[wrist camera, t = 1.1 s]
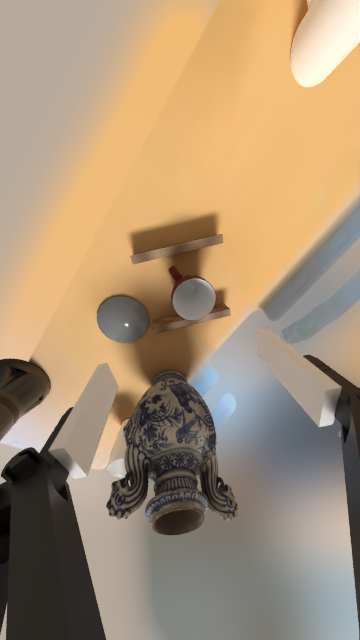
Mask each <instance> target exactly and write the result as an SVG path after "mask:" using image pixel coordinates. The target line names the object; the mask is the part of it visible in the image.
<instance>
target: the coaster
mask: <svg viewBox="0 0 360 640" xmlns="http://www.w3.org/2000/svg"><path fill="white" fill-rule="evenodd" d="M97 322H98V326H99V328H100V330H101V331H102V332H103V333H104V334H105V335H106V336H107V337H108V338H110V339H112V340H114V341H117V342H123V343H127V342H133V341H135V340H137V339H139V338H141V337H142V336H143V335H144V333H145V332H146V330H147V328H148V323H149V319H148V314H147V312H146V310H145V308H144V307H143V306H142V305H141V304H140V303H139V302H138V301H136V300H134V299H132V298H130V297H125V296H117V297H113V298H110V299H108V300H107V301H105V302H104V303H103V304H102V305H101V306H100V308H99V310H98V313H97Z"/></svg>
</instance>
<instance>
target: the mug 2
mask: <svg viewBox="0 0 360 640" xmlns="http://www.w3.org/2000/svg"><path fill="white" fill-rule="evenodd" d="M307 5H308V11H307V13H306V15H305V16H304V18H303V20H302V21H301V23H300V25H299V26H298V28H297V30H296V33H295V36H294V39H293V42H292V47H291V55H290V64H291V70H292V73H293V76H294V78H295V80H296V81H297V82H298V83H299V84H300V85H302V86H304V87H312V86H315V85H317V84H319V83H321V82H322V81H323V80H324V79H325V78H326V77H327V76H328V75H329V74H330V73H331V72H332V71H333V70H334V69H335V68H336V67H337V65H338V64H339V63H340V62H341V61H342V60H343V59H344V58H345V57H346V56H347V55H348V54H349V53H350V52H351V51H352V50H353V49H354V48H355V47H356V46H357V45H358V43H359V42H360V0H307Z"/></svg>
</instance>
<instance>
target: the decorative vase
mask: <svg viewBox="0 0 360 640" xmlns="http://www.w3.org/2000/svg"><path fill="white" fill-rule="evenodd" d="M123 431H124V438H125V443H126V447H127V448H126V450H125V457H124V463H125V469H126V475H125V478H123V479H121V480H118V481H114V482H113V483H112V492H111V496H110V499H109V501H108V503H107V505H106V506H107V508H108V509H109V515H110V516H111V517H113V516H115V517H116V518H117V519H118V520H119V519H121V518H124V519H127V518H128V517H129V515H130V514H131V513H133V512H134V511H136V510H137V509H139V508H140V506H141V505H142V504H143V502H144V500H145V498H146V496H147V491H148V482H151V483H153V484H154V492H155V497H154V498H152V499H151V500H150V501H149V502H148V504H147V505H146V509H145V514H146V517H147V519H148V520H149V521H150V522H151V523H152V528H153V530H154V531H155V532H157V533H159V534H163V535H180V534H184V533H187V532H190V531H193V530H195V529H197V528H198V527H199V526H201V524H202V523H203V521H204V513H205V512H206V510H207V508H208V507H209V508H210V510H211V511H212V512H214V513H215V514H216V515H219V516H220V517H221V518H222V519H223V520H226V519H228V520H229V521H231V520H232V518H233V517H234V518H236V517H237V510H238V505H237V503H236V502H235V498H234V496H233V493H232V489H231V487H230V486H229V485H227V484H226V485H224V482H223V480H222V479H221V478H220V477H218V463H217V457H216V452H215V450H216V433H215V427H214V422H213V419H212V416H211V413H210V411H209V409H208V407H207V405H206V403H205V402H204V400H203V399H202V397H201V396H200V394H199V393H198V392H197V391H196V390H195V389H194V388H193V387H192V386H191V385H189V384H188V383H187V379H186V377H185V376H184V374H182V373H181V372H179V371H176V370H166V371H162V372H160V373H159V374H157V375H156V376H155V377H154V378H153V380H152V384H151V387H150V388H149V389H148V390H147V391H146V392H145V394H144V395H143V396H142V398H141V399H140V401H139V402H138V404H137V406H136V408H135V411H134V414H133V415H132V416H131V418H130V419H129V420H128V422H127V424H126V425H125V426H124V428H123ZM197 478H199V479H200V481H201V488H202V492H201V491H198V489H197V484H198V481H197ZM128 480H130V484H131V487H130V486H129V484H128ZM219 482H220V483H221V485H220V486H219V488H218V483H219Z"/></svg>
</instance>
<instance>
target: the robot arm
mask: <svg viewBox="0 0 360 640" xmlns="http://www.w3.org/2000/svg"><path fill="white" fill-rule="evenodd" d="M257 333H258V334H257V335H258V356H259V357H260V358H261V359H262V361H263V362H264V363H265V364H266V365H267V367H268V368H269V369H270V370H271V371H272V372H273V374H274V375H275V376H276V377H277V378H278V379H279V381H280V382H281V383H282V384H283V385H284V387H285V388H286V389H287V390H288V391H289V392H290V394H291V395H292V396H293V397H294V398H295V400H296V401H297V402H298V403H299V404H300V405H301V407H302V408H303V409H304V410H305V411H306V412H307V414H308V415H309V416H310V417H311V418H312V420H313V421H314V422H315V423H316V424H317V425H318V427H322V426H326V425H331V424H333V421H334V417H335V418H337V420H338V421H339V422H340V423H341V426H340V430H339V434H338V436H339V437H341V440H342V450H343V462H344V472H345V483H346V493H347V504H348V514H349V525H350V536H351V546H352V556H353V568H354V578H355V589H356V599H357V610H358V621H359V633H360V388H358V387H356V386H355V385H353V384H352V383H351V382H349V381H348V380H346V379H345V378H344V377H343V376H341V375H340V374H338V373H337V372H336V371H334V370H332V369H331V368H330V367H329V366H327V365H326V364H325V363H323V362H322V361H321V360H319V359H318V358H315V357H313V356H311V355H305V356H302V355H301V354H299V353H298V352H297V351H296V350H294V349H293V348H292V347H291V346H289V345H288V344H287V343H286V342H284V341H283V340H282V339H280V338H279V337H278V336H277V335H275V334H274V333H273V332H272V331H270V330H269V329H268V328H267V327H265V328H260V329H257ZM118 387H119V386H118V384H117V382H116V380H115V378H114V376H113V374H112V372H111V370H110V368H109V366H108V364H107V363H105V364H100V365H98V367H97V368H96V370H95V372H94V373H93V375H92V377H91V379H90V380H89V382H88V384H87V385H86V387H85V389H84V391H83V392H82V394H81V396H80V397H79V399H78V401H77V403H76V404H75V406H74V407H72V408H69V409H68V411H67V412H66V413H65V414H64V415H63V416H62V418H61V419H60V421H59V423H58V425H57V426H56V427H55V429H54V431H53V432H52V434H51V435H50V437H49V439H48V440H47V442H46V443H45V445H44V447H43V448H42V450H41V452H40V453H38V452H37V451H36V450H35V449H34V448H31V447H30V448H27V449H24V450H22V451H21V452H19V453H18V454H17V455H15V456H14V457H13V458H12V459H11V460H10V461H9V462H8V463H7V464H6V466H5V467H4V469H3V471H2V473H1V477H3V478H4V479H5V480H6V482H4V483H2V484H0V632H1V628H2V624H3V619H4V614H5V610H6V605H7V629H6V640H106V637H105V633H104V629H103V625H102V621H101V617H100V612H99V609H98V604H97V600H96V596H95V592H94V588H93V584H92V580H91V576H90V571H89V568H88V563H87V559H86V555H85V551H84V547H83V543H82V539H81V535H80V531H79V526H78V522H77V518H76V514H75V510H74V506H73V502H72V498H71V493H70V489H69V485H68V484H67V482H66V480H67V477H68V475H69V474H70V475H71V476H72V477H73V478H74V479H76V478H81V477H86V476H88V473H89V470H90V467H91V464H92V461H93V458H94V456H95V453H96V450H97V447H98V444H99V441H100V438H101V436H102V433H103V430H104V427H105V424H106V421H107V418H108V415H109V413H110V410H111V407H112V404H113V401H114V398H115V395H116V393H117V390H118ZM50 389H51V383H50V380H49V378H48V376H47V375H46V374H45V372H44V371H42V370H41V369H40V368H39V367H37V366H36V365H34V364H32V363H29V362H27V361H23V360H19V359H2V360H0V441H1V439H2V438H3V437H4V436H5V435H6V433H7V432H8V431H9V430H10V429H11V427H12V426H13V425H14V424H15V423H16V421H17V420H18V419H19V418H21V417H22V416H23V415H25V414H26V413H28V412H29V411H30V410H32V409H33V408H35V407H36V406H38V405H39V404H40V403H41V402H42V401H43V400H44V399H45V398H46V396H47V395H48V394H49V392H50ZM359 635H360V634H359ZM359 640H360V636H359Z"/></svg>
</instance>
